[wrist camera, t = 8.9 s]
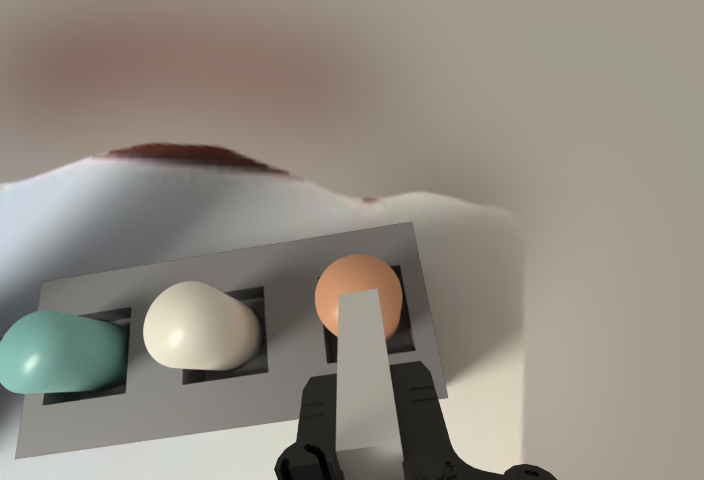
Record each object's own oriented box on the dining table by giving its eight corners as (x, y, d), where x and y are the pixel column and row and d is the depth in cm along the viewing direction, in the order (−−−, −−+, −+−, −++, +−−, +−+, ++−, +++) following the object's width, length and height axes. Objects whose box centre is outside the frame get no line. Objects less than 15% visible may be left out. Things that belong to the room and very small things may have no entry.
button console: (115, 437, 31) (14, 459, 23) (125, 305, 35) (42, 281, 27) (432, 392, 30) (448, 397, 22) (406, 260, 34) (411, 221, 26)
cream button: (197, 375, 25) (140, 374, 19) (198, 307, 26) (145, 287, 21) (265, 365, 24) (227, 361, 19) (261, 297, 26) (225, 275, 20)
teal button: (75, 395, 26) (-13, 399, 20) (82, 329, 28) (3, 316, 22) (137, 385, 26) (67, 387, 20) (141, 319, 27) (77, 304, 22)
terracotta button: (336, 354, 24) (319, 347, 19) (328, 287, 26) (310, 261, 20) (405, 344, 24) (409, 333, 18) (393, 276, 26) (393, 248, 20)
